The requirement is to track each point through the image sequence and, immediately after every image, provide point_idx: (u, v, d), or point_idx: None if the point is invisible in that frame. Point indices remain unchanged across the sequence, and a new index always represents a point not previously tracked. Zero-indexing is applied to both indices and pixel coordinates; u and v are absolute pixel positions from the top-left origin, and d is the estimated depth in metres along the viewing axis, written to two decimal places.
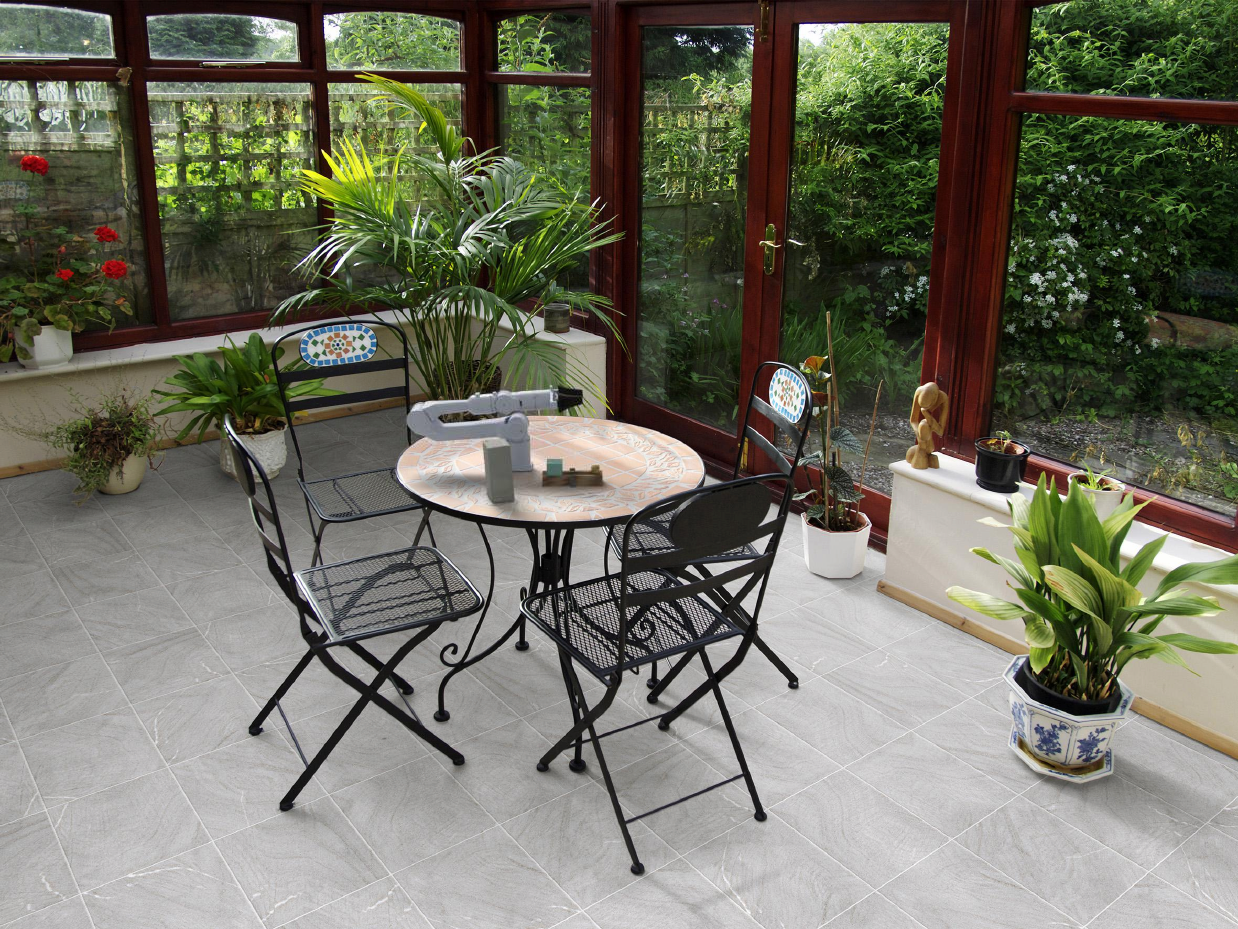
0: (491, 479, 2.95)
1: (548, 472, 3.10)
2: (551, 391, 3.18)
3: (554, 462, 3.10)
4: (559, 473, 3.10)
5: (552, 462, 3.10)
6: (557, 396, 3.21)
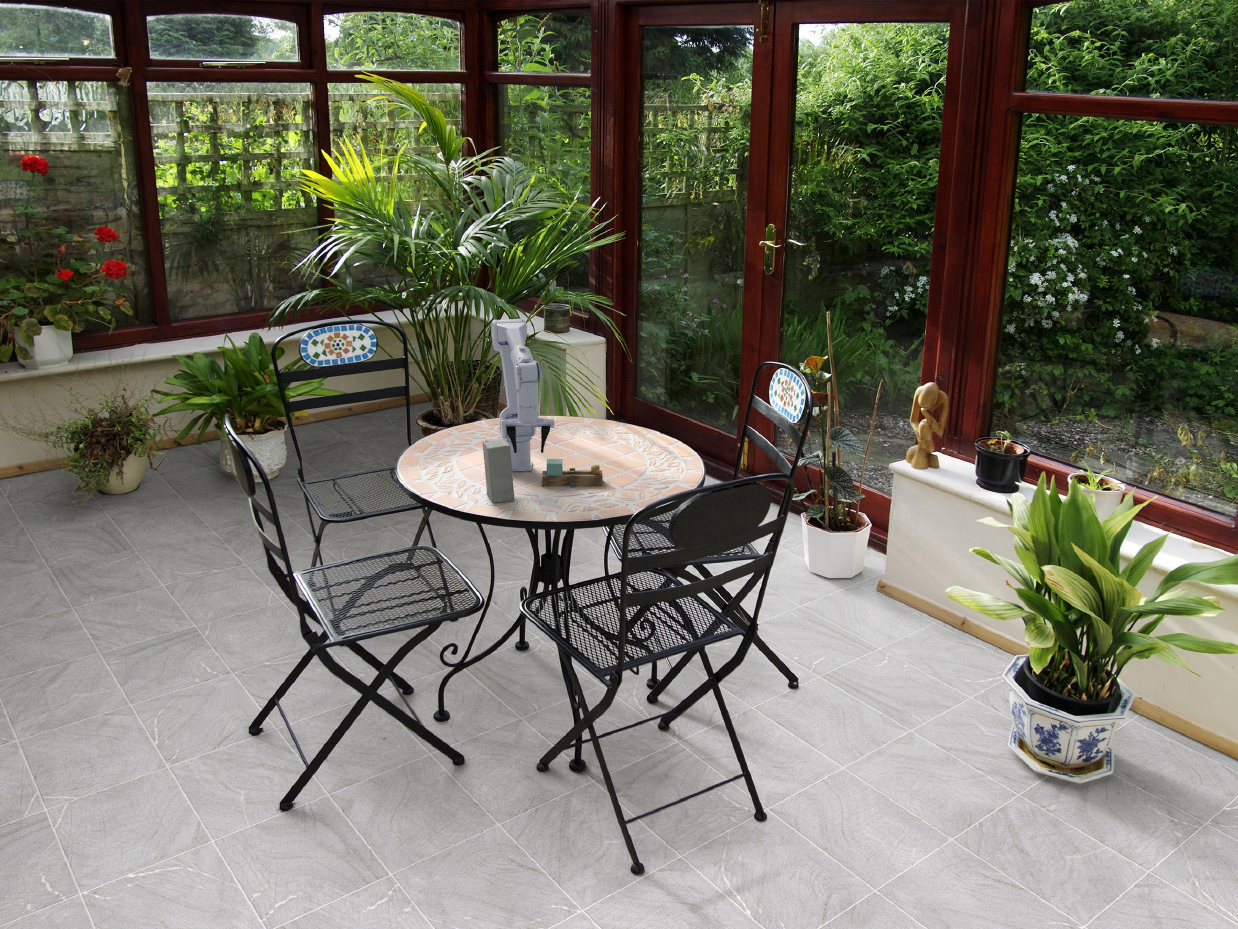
0: (491, 479, 2.95)
1: (548, 472, 3.10)
2: (522, 424, 3.05)
3: (554, 462, 3.10)
4: (559, 473, 3.10)
5: (552, 462, 3.10)
6: (532, 427, 3.07)
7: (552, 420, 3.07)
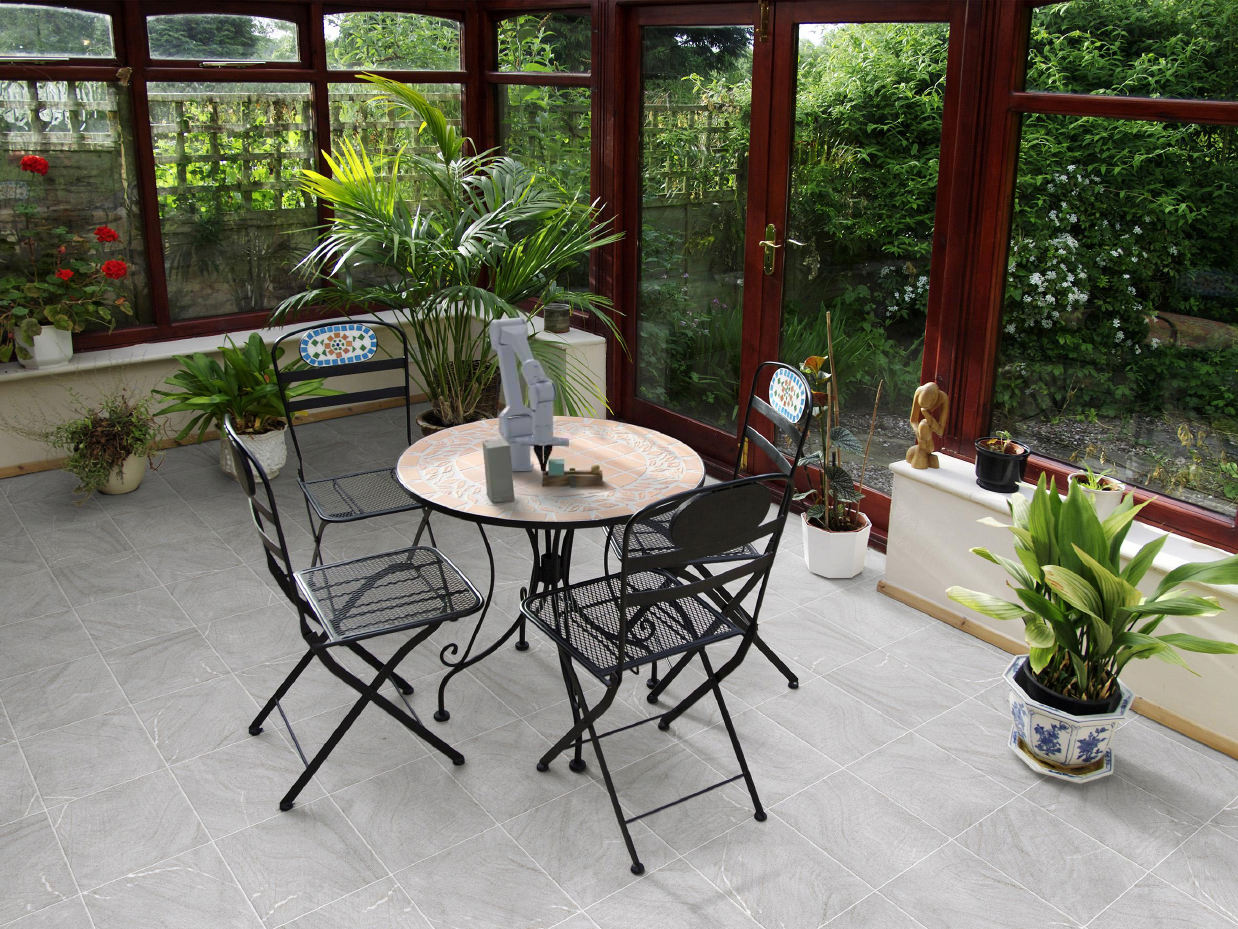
0: (491, 479, 2.95)
1: (550, 472, 3.10)
2: (537, 443, 3.06)
3: (556, 462, 3.10)
4: (561, 473, 3.10)
5: (554, 462, 3.10)
6: None
7: (567, 439, 3.09)
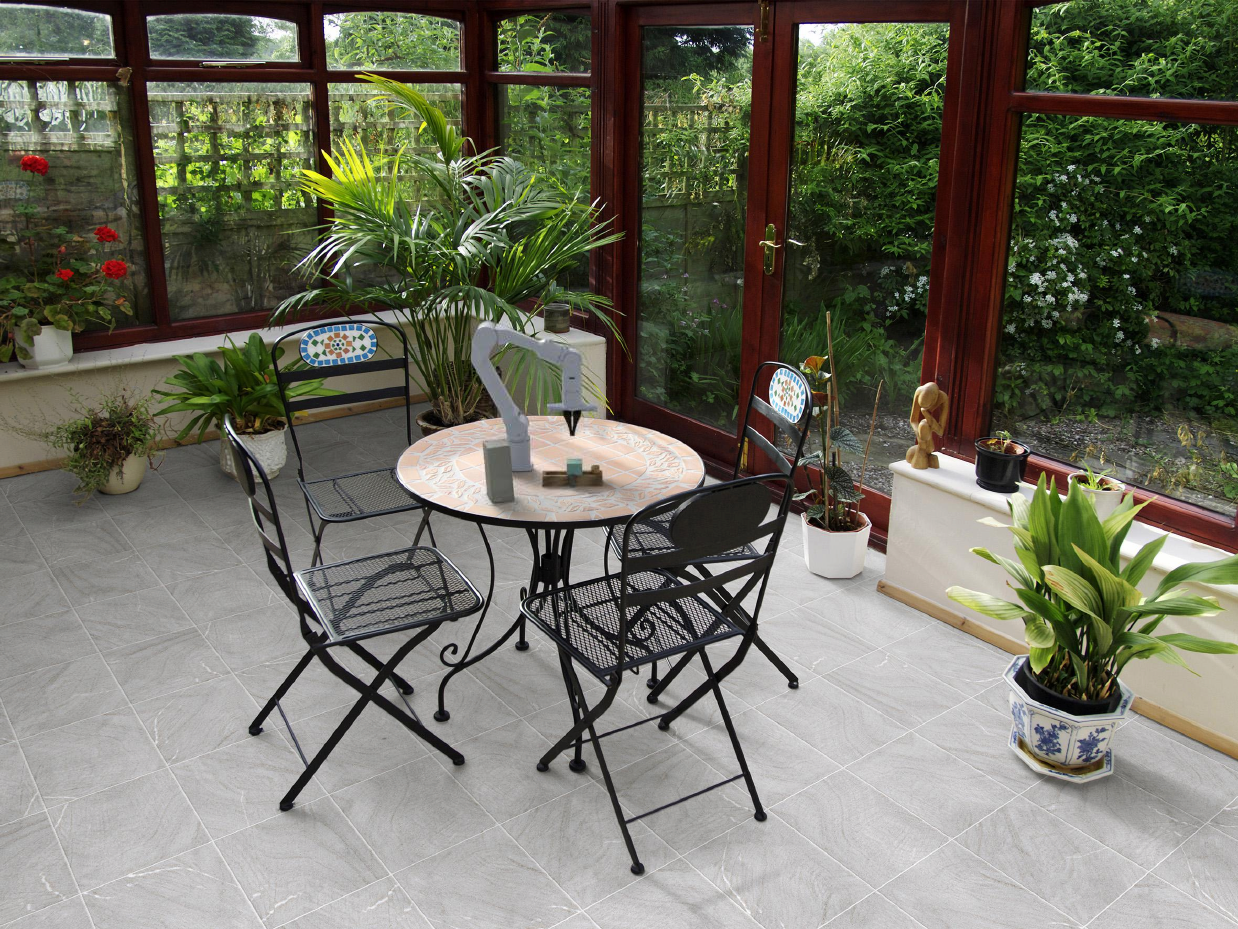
0: (491, 479, 2.95)
1: (568, 472, 3.10)
2: (566, 408, 3.19)
3: (574, 462, 3.10)
4: (579, 473, 3.10)
5: (572, 462, 3.10)
6: None
7: (595, 404, 3.21)
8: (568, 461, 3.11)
